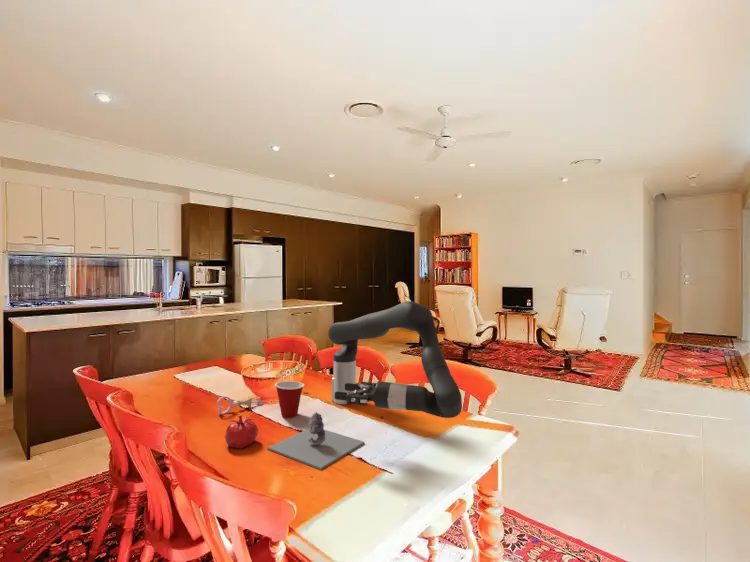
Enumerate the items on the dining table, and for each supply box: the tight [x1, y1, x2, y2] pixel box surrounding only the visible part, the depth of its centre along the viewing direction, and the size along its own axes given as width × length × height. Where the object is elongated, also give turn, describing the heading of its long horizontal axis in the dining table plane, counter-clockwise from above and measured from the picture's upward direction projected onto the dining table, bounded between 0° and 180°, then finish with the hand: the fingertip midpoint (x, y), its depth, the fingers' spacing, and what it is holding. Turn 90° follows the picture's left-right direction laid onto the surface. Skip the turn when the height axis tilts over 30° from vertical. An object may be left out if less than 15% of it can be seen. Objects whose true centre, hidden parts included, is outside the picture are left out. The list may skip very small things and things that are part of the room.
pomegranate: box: [224, 414, 259, 449], centre depth 125 cm, size 10×10×9 cm
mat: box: [267, 427, 365, 471], centre depth 123 cm, size 22×20×1 cm
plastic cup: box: [274, 380, 305, 419], centre depth 150 cm, size 11×11×12 cm
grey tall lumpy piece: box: [308, 412, 325, 445], centre depth 123 cm, size 5×5×10 cm
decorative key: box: [216, 395, 265, 416], centre depth 157 cm, size 7×1×20 cm
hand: (340, 390), depth 121 cm, fingers open, 8 cm apart
